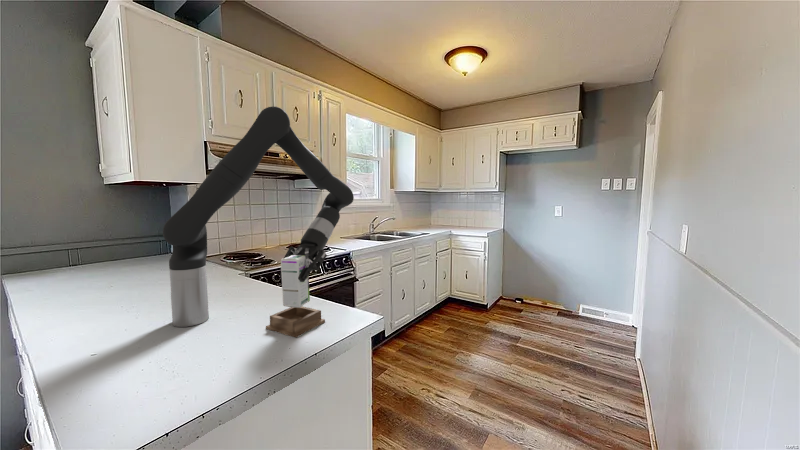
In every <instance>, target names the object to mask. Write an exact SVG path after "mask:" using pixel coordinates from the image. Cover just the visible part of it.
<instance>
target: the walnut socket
mask: <svg viewBox="0 0 800 450" xmlns="http://www.w3.org/2000/svg"><path fill="white" fill-rule="evenodd" d="M324 323H326V319H324V318H322V310H320V309H316V308H312V307H306V306H304V305H303V306H301V308H296V307H288V308H286V309H283V310H280V311H279V312H276V313H274V314H271V315H269V324H268V325H265V330H269V331H272V332H274V333H279V334H281V335H284V336H289V337H292V338H295V339H296V338H298V337H300V336H302V335H304V334H306V333H308V332H309V331H311V330H313V329H315V328H316V327H318V326H320V325H323V324H324Z"/></svg>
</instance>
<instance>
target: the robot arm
mask: <svg viewBox="0 0 800 450" xmlns="http://www.w3.org/2000/svg"><path fill="white" fill-rule="evenodd" d="M290 120H291V119H290V117H289V114H288V113H287V112H286V111H285V110H284V109H283V108H282V107H278V106H275V105H274V106H273V105H272V106H268V107H265V108H263V109H262V110H261V111H260V113H259V114H258V116H257V118H256V119H255V120H254V121H253V124H252V125H251V126H250V128H249V129H248V131H247V132H246V133H245V135H244V136H242V138H241V139H240V140H239V141H238V142H237V143H236V144H234V146H233V147H232V148H230V150H229V151H228V152H227V153H226V154H225V155H224V156H223V157H222V158H221V160H219V162H218V163H217V164H216V165H215V166H214V168H213V169H212V170H211V171H210V173H208V175H207V177H205V179H204V180H203V182H201V184H200V185H199V187H198V188H197V189H196V191H195V192H194V194H193V195H192V196H191V197H190V199H188V200H187V202H185V204H184V205H182V206H181V207H180V208H179V209H178V210H177V211H176V212H175V213H174V214H173V215H172V216H171V217H170V218H169V219H167V221H166V222H165V223H164V225H163V227H162V237H163V239H164V240H165V242H167V244H169V245H171V246H172V251H171V252H172V253H171V256H170V258H169V260H168V266H169V267H168V268H169V269H168V270H169V282H170V302H171V303H170V304H171V319H172V325H173V326H174V327H177V328H186V327H192V326H193V327H194V326H196V325H200V324H202V323H204V322H206V321H207V320H209V319H210V314H209V312H210V311H209V296H208V279H207V278H208V276H207V257H208V256H207V255H208V230H207V223H208V222H209V221H210V219H211V218H212V217H213V215H214V214H215V213H216V212H217V211H218V210H220V208H222V207H223V206H224V205H226V204H227V203H228V202H229V201H230V200H232V198H233V197H235V196H236V195H237V194H238V193H239V192H240V191H241V189H242V188H243V187H244V186H245V185H246V184H247V182H248V181H249V180H250V179H251V177H252V176H253V174H254V173H255V171H256V169H257V168H258V166H259V164H260V163H261V161H262V159H263V158H264V156H265V154H266V153H267V152H268V151H269V150H270V149H271V148H272V147H273V146H274V145H277V146H278V147H280V148H281V149H282V150H283V151H284V152H285V153H286V154H287V155H288V156H289V157H290V159H291V160H293V161H294V163H295V164H296V165H297V167H298V168H299V169H300V171H302V173H303V174H304V175H305V176H306V178H308V179H309V181H311V183H312V184H313V185H314V186H315V187H316V188H317V189H318V190H321V191H323V190H326V191H327V192H329V193H328V194H327V195H326V197H325V199H323V200H324V201H323V202H322V206H321V209H320V210H319V212H318V213H317V215H316V217H315V218H314V219H313V221H312V222H311V223H310V225H309V226H308V228H307V229H306V231H305V232H304V234H303V235H302V237H301V239H300V245H299V246H298V247H293V246H290V247H289V248H288V250H287V252H286V253H285V255H284V257H282V259H284V258H286V257H289V256H291V255H305V262H306V263H305V267H306V268H303V270H302V272H301V273H300V275H299V277H298V279H299V280H300V281H301V282H304V281H305V280H306V279H307V277H308V275H310V274H311V272H313V271H316V272H317V271H318V270H319V269H320V268H321V266H322V264H323V262H324V261H325V259H326V258H327V256H328V255H327V254H326V252H325V251H324V249H325V247H326V246H327V243H328V242H329V240H330V237H332V234H333V231H334V229H335V228H336V226H337V225H338V222H339V220H340V218H341V215H340V212H341V210H342V209H344V208H346V207H348V206H350V205H351V204H352V203H353V202H354V200H355V198H354V196H355V195H354V193H353V190H352V189H351V188H350V187H349V186H348V184H346V183H345V182H343V181H342V180H341V179H340V178H338V177H337V176H335V175H334V174H333V173H332V172H331V171H330V169H328V168H327V166H325V164H324V163H323V162H322V161H321V160H320V159H319V158H318V156H316V155H315V154H314V153H313V152H312V151H311V150H310V149H309V148H307V146H306V145H305V144H304V143H303V142H302V140H301V139H300V138H299V137H298V136H297V134H296V133H295V132H294V130H293V129H292V127H291V121H290ZM279 276H280V277H281V278H282V275H281V272H280V273H279Z"/></svg>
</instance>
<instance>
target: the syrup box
mask: <svg viewBox="0 0 800 450" xmlns="http://www.w3.org/2000/svg"><path fill="white" fill-rule="evenodd" d="M283 258H284V257H283ZM283 258H281V259H280V273H281V275H282V277H281V287H282V288H281V290H282V291H281V293H282V307H288V308H290V307H296V308H301V306H303V307H304V305H306V304H308V303H309V302H310V301H311V297H310V295H311V294H310V276H309V275H310V274H309V275H308V277H307V279H306V280H305V281H304V282H301V281H300V280H299V279H298V277H299V275H300V273H301V272H302V270H303V268H306V267H305V263H306V262H305V255H291V256H289V257H286V258H284V259H283Z"/></svg>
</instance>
